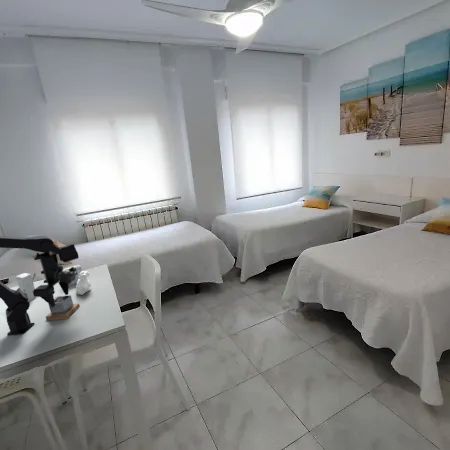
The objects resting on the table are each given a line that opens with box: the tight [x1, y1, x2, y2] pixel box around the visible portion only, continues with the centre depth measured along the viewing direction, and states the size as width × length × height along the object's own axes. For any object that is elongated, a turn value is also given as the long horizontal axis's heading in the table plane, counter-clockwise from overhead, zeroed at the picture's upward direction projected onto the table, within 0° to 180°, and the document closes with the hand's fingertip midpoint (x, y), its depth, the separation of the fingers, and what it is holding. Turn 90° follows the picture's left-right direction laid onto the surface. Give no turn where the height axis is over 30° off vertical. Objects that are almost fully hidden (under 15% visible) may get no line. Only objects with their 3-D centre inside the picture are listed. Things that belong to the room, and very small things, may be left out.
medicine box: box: [63, 264, 83, 287], centre depth 143 cm, size 8×4×9 cm, turn 130°
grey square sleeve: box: [48, 294, 74, 314], centre depth 114 cm, size 6×6×5 cm
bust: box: [75, 270, 92, 296], centre depth 133 cm, size 12×8×11 cm
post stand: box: [45, 298, 80, 321], centre depth 114 cm, size 9×9×6 cm
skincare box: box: [15, 272, 37, 301], centre depth 130 cm, size 6×4×12 cm
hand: (60, 300), depth 114 cm, fingers open, 9 cm apart
